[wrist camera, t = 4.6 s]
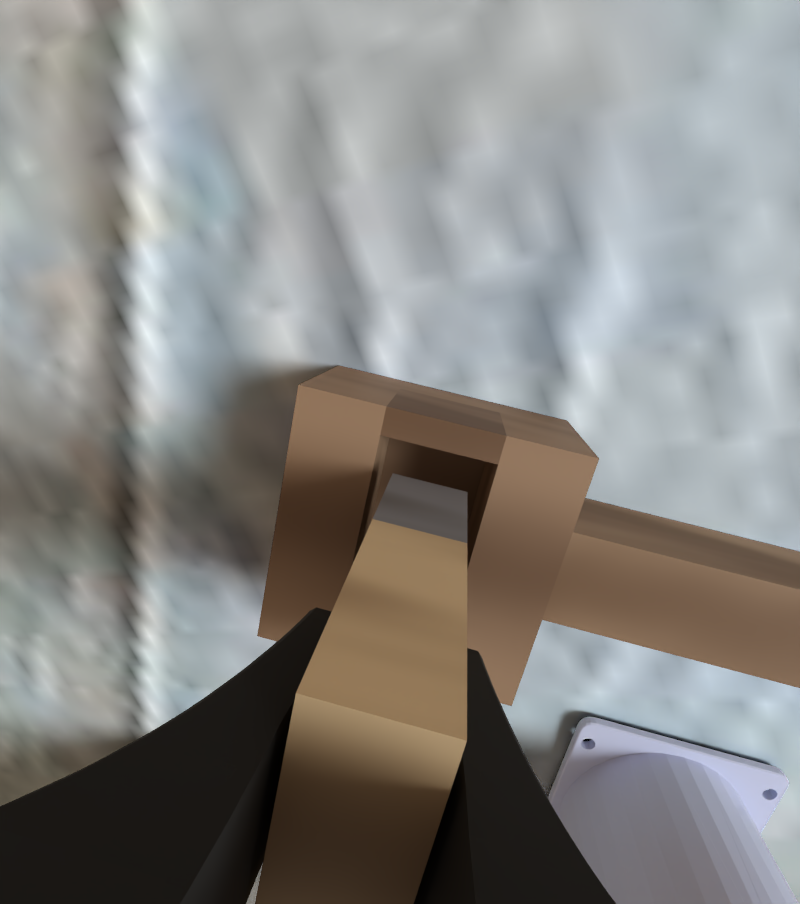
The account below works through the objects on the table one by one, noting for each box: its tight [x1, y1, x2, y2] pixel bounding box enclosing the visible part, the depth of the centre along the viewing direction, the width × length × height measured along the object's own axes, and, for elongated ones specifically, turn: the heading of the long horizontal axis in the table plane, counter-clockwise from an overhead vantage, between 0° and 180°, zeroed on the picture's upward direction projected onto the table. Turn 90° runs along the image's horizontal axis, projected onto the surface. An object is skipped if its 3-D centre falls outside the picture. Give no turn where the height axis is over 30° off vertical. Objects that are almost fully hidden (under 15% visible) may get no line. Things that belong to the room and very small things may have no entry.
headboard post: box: [257, 366, 800, 706], centre depth 16 cm, size 8×30×4 cm, turn 78°
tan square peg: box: [255, 473, 467, 904], centre depth 10 cm, size 5×2×8 cm, turn 168°
